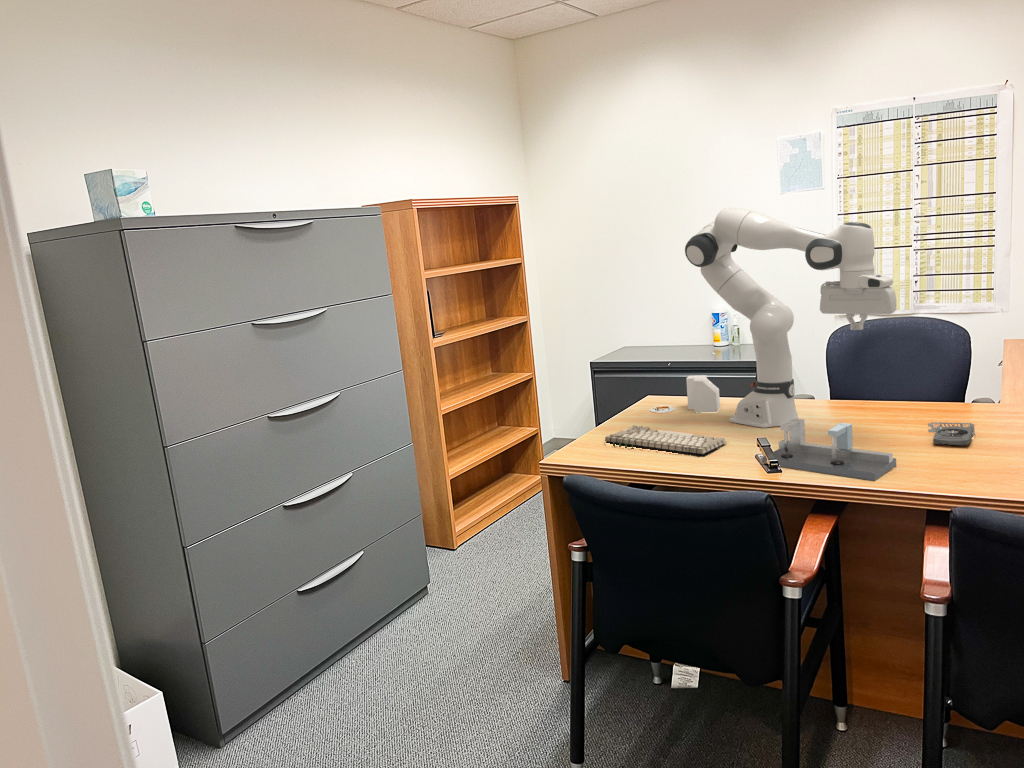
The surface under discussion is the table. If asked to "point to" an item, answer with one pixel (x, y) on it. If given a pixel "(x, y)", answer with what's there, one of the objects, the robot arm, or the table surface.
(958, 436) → the graphics card
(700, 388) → the grey chamfered block
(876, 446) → the table surface
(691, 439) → the mechanical keyboard
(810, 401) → the table surface
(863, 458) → the grey fixture base
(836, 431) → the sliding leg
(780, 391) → the robot arm
